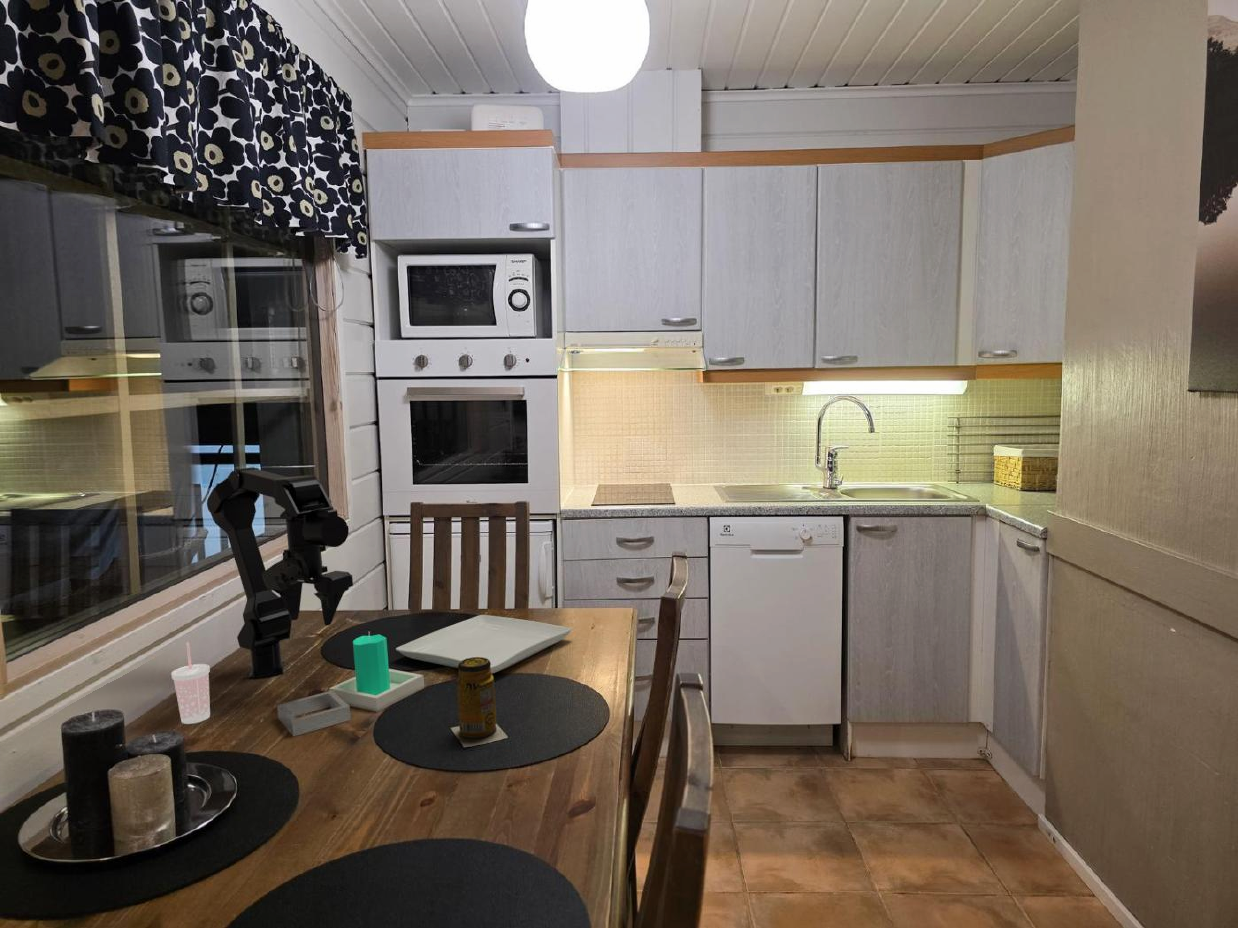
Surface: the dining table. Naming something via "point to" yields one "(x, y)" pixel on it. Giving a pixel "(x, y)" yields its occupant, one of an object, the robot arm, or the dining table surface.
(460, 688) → the condiment
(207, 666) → the beverage cup
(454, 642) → the square plate
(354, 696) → the tray
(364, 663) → the candle
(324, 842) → the dining table surface
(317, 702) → the steel collar
